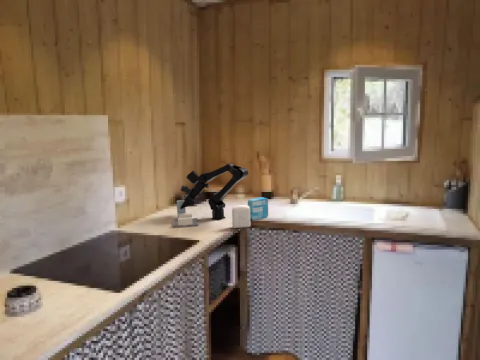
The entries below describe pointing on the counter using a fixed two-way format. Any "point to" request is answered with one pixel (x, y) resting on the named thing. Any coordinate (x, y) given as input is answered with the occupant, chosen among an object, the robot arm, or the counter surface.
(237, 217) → the photo printer
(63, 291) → the counter surface
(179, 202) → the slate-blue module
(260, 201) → the data package
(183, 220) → the board
